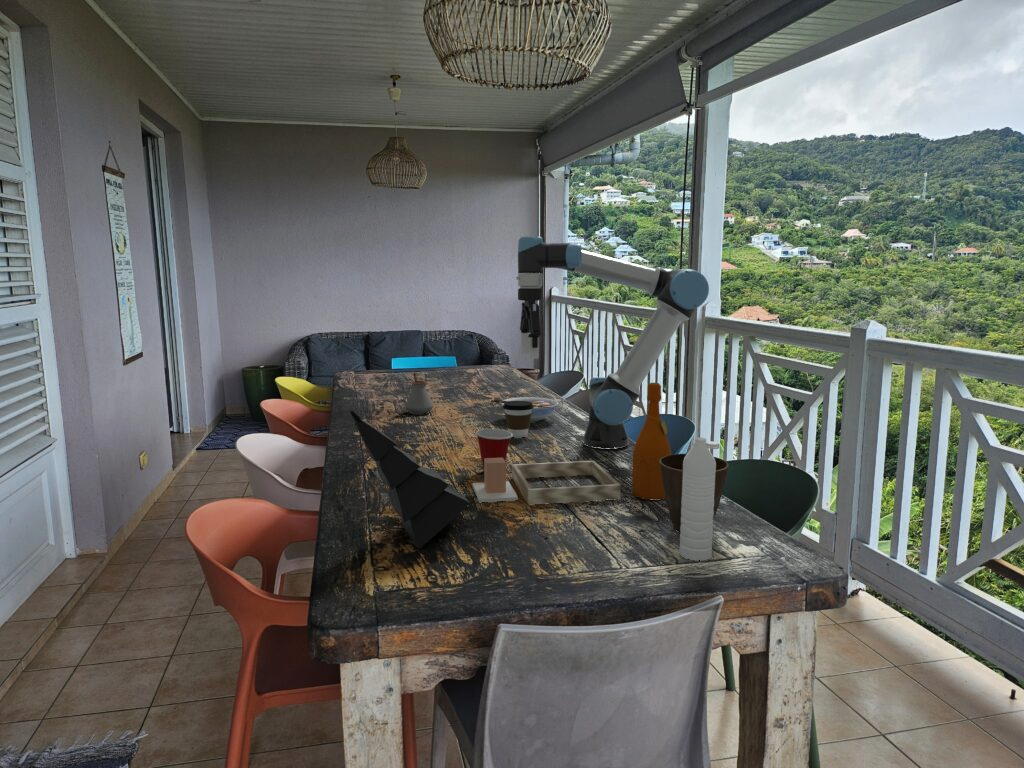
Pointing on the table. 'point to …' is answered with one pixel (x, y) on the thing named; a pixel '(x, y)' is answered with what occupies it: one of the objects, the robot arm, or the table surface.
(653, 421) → the wine bottle
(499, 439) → the plastic cup
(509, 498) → the pad
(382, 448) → the decorative tree
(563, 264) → the robot arm
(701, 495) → the water bottle
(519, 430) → the coffee cup
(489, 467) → the block
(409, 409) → the coffee pot
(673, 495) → the plant pot
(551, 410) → the ramen bowl
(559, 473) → the frame
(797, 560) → the table surface
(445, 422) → the table surface
